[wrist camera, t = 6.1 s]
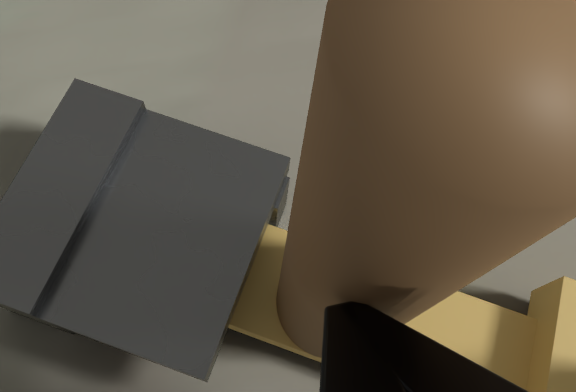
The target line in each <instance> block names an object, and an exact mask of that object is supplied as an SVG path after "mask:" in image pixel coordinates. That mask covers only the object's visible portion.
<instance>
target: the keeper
mask: <svg viewBox="0 0 576 392" xmlns="http://www.w3.org/2000/svg"><path fill="white" fill-rule="evenodd" d="M289 164H290V157H287V156H284V155H281V154H278V153H275V152H272V151H269V150H266V149H263V148H260V147H257V146H254V145H251V144H248V143H245V142H242V141H239V140H236V139H233V138H230V137H227V136H224V135H221V134H218V133H215V132H212V131H209V130H206V129H203V128H200V127H197V126H194V125H191V124H188V123H185V122H183V121H180V120H177V119H174V118H171V117H168V116H165V115H162V114H159V113H156V112H153V111H150V110H147V109H146V108H145V105H144V102H143V101H141V100H138V99H135V98H132V97H129V96H126V95H123V94H120V93H117V92H114V91H111V90H108V89H105V88H102V87H99V86H96V85H93V84H90V83H87V82H84V81H81V80H78V79H74V81H73V82H72V84H71V86H70V87H69V89H68V91H67V92H66V94H65V96H64V97H63V99H62V101H61V102H60V104H59V105H58V107H57V109H56V110H55V112H54V114H53V115H52V117H51V119H50V120H49V122H48V124H47V125H46V127H45V129H44V130H43V132H42V134H41V135H40V137H39V138H38V140H37V142H36V143H35V145H34V147H33V148H32V150H31V152H30V153H29V155H28V157H27V158H26V160H25V162H24V163H23V165H22V167H21V168H20V170H19V171H18V173H17V175H16V176H15V178H14V180H13V181H12V183H11V185H10V186H9V188H8V190H7V191H6V193H5V195H4V196H3V198H2V200H1V201H0V306H1V307H3V308H5V309H7V310H10V311H13V312H15V313H18V314H21V315H23V316H26V317H29V318H31V319H34V320H37V321H39V322H42V323H45V324H47V325H50V326H53V327H55V328H58V329H61V330H63V331H66V332H69V333H71V334H74V333H77V334H79V335H82V336H85V337H87V338H90V339H93V340H96V341H98V342H101V343H104V344H106V345H109V346H112V347H114V348H117V349H120V350H122V351H125V352H128V353H130V354H133V355H136V356H138V357H141V358H144V359H146V360H149V361H152V362H154V363H157V364H160V365H162V366H165V367H168V368H170V369H173V370H176V371H178V372H181V373H184V374H186V375H189V376H192V377H194V378H197V379H200V380H202V381H205V382H208V379H209V376H210V374H211V371H212V369H213V366H214V363H215V361H216V358H217V356H218V353H219V350H220V348H221V345H222V343H223V340H224V337H225V335H226V332H227V330H228V327H229V324H230V322H231V319H232V317H233V314H234V311H235V309H236V306H237V304H238V301H239V298H240V296H241V293H242V291H243V288H244V285H245V283H246V280H247V278H248V275H249V272H250V270H251V267H252V265H253V262H254V259H255V257H256V254H257V252H258V249H259V246H260V244H261V241H262V239H263V236H264V233H265V231H266V228H267V226H268V224H269V225H272V226H275V227H277V226H278V224H279V221H280V218H281V216H282V213H283V210H284V208H285V205H286V200H287V193H288V186H289V179H290V178H289V177H287V173H288V171H289Z"/></svg>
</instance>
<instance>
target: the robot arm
mask: <svg viewBox="0 0 576 392" xmlns="http://www.w3.org/2000/svg"><path fill="white" fill-rule="evenodd" d="M320 392H529V391H527V390H525V389H523V388H521V387H519V386H518V385H516V384H514V383H512V382H510V381H508V380H506V379H505V378H503V377H501V376H499V375H497V374H495V373H494V372H492V371H490V370H488V369H486V368H484V367H482V366H481V365H479V364H477V363H475V362H473V361H471V360H470V359H468V358H466V357H464V356H462V355H460V354H458V353H457V352H455V351H453V350H451V349H449V348H447V347H446V346H444V345H442V344H440V343H438V342H436V341H435V340H433V339H431V338H429V337H427V336H425V335H423V334H422V333H420V332H418V331H416V330H414V329H412V328H411V327H409V326H407V325H405V324H403V323H401V322H399V321H398V320H396V319H394V318H392V317H390V316H388V315H387V314H385V313H383V312H381V311H379V310H377V309H375V308H374V307H372V306H370V305H368V304H362V303H358V302H353V301H349V302H344V303H339V304H334V305H330V306H327V307H326V308H325V310H324V325H323V342H322V359H321V376H320Z"/></svg>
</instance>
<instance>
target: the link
mask: <svg viewBox="0 0 576 392" xmlns="http://www.w3.org/2000/svg"><path fill="white" fill-rule="evenodd" d="M575 217H576V0H328V2H327V6H326V12H325V18H324V23H323V29H322V35H321V41H320V47H319V52H318V58H317V64H316V70H315V76H314V81H313V87H312V93H311V99H310V105H309V110H308V116H307V122H306V128H305V134H304V139H303V145H302V151H301V157H300V163H299V168H298V174H297V180H296V186H295V192H294V197H293V203H292V209H291V215H290V221H289V226H288V231H286V230H283V229H281V228H278V227H275V226H272V225H269V224H268V226H267V228H266V231H265V233H264V236H263V239H262V241H261V244H260V246H259V249H258V252H257V254H256V257H255V259H254V262H253V265H252V267H251V270H250V272H249V275H248V278H247V280H246V283H245V285H244V288H243V291H242V293H241V296H240V298H239V301H238V304H237V306H236V309H235V311H234V314H233V317H232V319H231V322H230V324H229V327H228V328H230V329H232V330H235V331H238V332H240V333H243V334H246V335H248V336H251V337H254V338H256V339H259V340H262V341H265V342H267V343H270V344H273V345H275V346H278V347H281V348H283V349H286V350H289V351H291V352H294V353H297V354H299V355H302V356H305V357H307V358H310V359H313V360H316V361H318V362H321V359H322V342H323V325H324V310H325V308H326V307H327V306H330V305H334V304H339V303H344V302H349V301H353V302H358V303H362V304H368V305H370V306H372V307H374V308H375V309H377V310H379V311H381V312H383V313H385V314H387V315H388V316H390V317H392V318H394V319H396V320H398V321H399V322H401V323H403V324H405V325H407V326H409V327H411V328H412V329H414V330H416V331H418V332H420V333H422V334H423V335H425V336H427V337H429V338H431V339H433V340H435V341H436V342H438V343H440V344H442V345H444V346H446V347H447V348H449V349H451V350H453V351H455V352H457V353H458V354H460V355H462V356H464V357H466V358H468V359H470V360H471V361H473V362H475V363H477V364H479V365H481V366H482V367H484V368H486V369H488V370H490V371H492V372H494V373H495V374H497V375H499V376H501V377H503V378H505V379H506V380H508V381H510V382H512V383H514V384H516V385H518V386H519V387H521V388H523V389H525V390H527V391H529V392H576V280H573V279H571V278H568V277H565V276H563V277H561V278H559V279H557V280H555V281H552V282H550V283H548V284H546V285H544V286H541V287H539V288H537V289H535V290H533V291H531V297H530V303H529V308H528V314H527V315H524V314H521V313H518V312H515V311H512V310H510V309H507V308H504V307H501V306H498V305H495V304H493V303H490V302H487V301H484V300H481V299H478V298H476V297H473V296H470V295H467V294H464V293H462V292H459V291H458V290H460V289H462V288H463V287H465V286H466V285H468V284H470V283H471V282H473V281H474V280H476V279H478V278H479V277H481V276H482V275H484V274H486V273H487V272H489V271H490V270H492V269H494V268H495V267H497V266H498V265H500V264H502V263H503V262H505V261H506V260H508V259H510V258H511V257H513V256H514V255H516V254H518V253H519V252H521V251H522V250H524V249H526V248H527V247H529V246H530V245H532V244H534V243H535V242H537V241H538V240H540V239H542V238H543V237H545V236H546V235H548V234H550V233H551V232H553V231H554V230H556V229H558V228H559V227H561V226H562V225H564V224H566V223H567V222H569V221H570V220H572V219H574V218H575Z"/></svg>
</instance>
